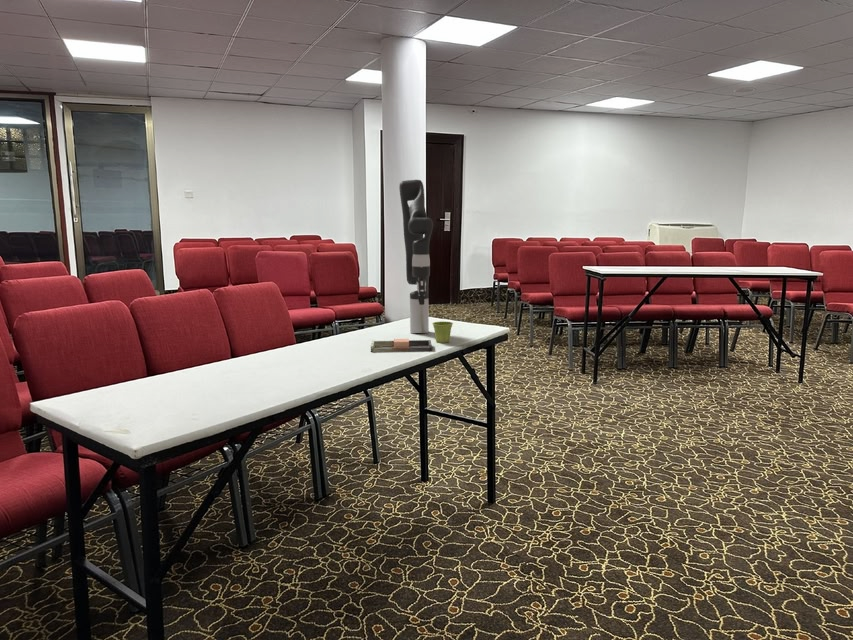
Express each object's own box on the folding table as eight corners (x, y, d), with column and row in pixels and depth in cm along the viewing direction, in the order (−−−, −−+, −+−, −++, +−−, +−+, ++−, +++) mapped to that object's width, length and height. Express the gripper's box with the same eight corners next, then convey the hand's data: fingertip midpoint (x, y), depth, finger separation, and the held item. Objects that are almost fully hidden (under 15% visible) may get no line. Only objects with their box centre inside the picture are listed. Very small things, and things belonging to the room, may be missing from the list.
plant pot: (453, 343, 264) (453, 324, 263) (432, 343, 264) (432, 324, 263) (452, 339, 274) (452, 321, 272) (432, 339, 274) (432, 321, 272)
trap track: (372, 346, 260) (372, 340, 259) (430, 345, 261) (430, 340, 260) (370, 352, 248) (370, 346, 248) (431, 351, 249) (431, 345, 249)
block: (394, 347, 257) (393, 338, 257) (408, 347, 258) (408, 338, 257) (394, 350, 251) (394, 341, 250) (409, 350, 252) (408, 341, 251)
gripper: (411, 264, 256) (412, 301, 258) (412, 266, 242) (413, 305, 244) (428, 263, 256) (429, 301, 259) (430, 266, 242) (431, 305, 245)
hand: (421, 303), depth 252 cm, fingers open, 7 cm apart
